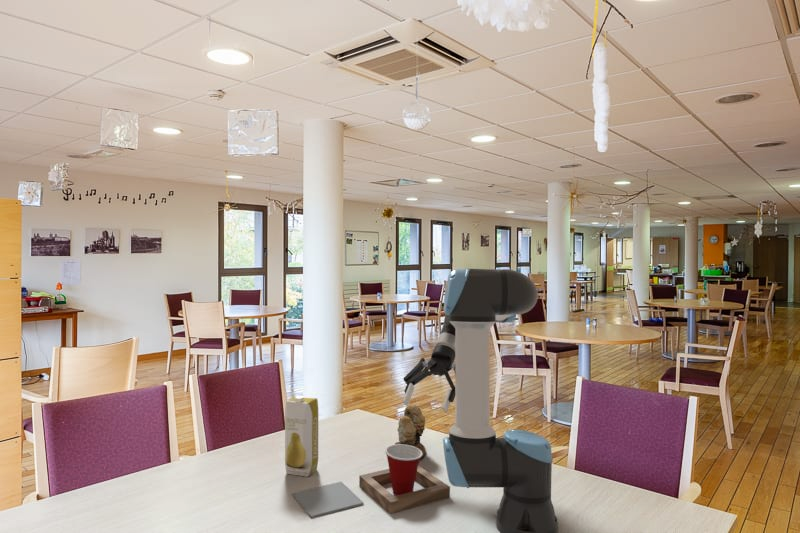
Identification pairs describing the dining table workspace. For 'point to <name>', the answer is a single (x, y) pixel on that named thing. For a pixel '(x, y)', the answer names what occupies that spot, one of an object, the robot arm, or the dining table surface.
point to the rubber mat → (327, 499)
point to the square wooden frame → (408, 500)
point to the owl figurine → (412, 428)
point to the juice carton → (301, 436)
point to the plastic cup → (403, 467)
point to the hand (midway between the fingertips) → (424, 406)
